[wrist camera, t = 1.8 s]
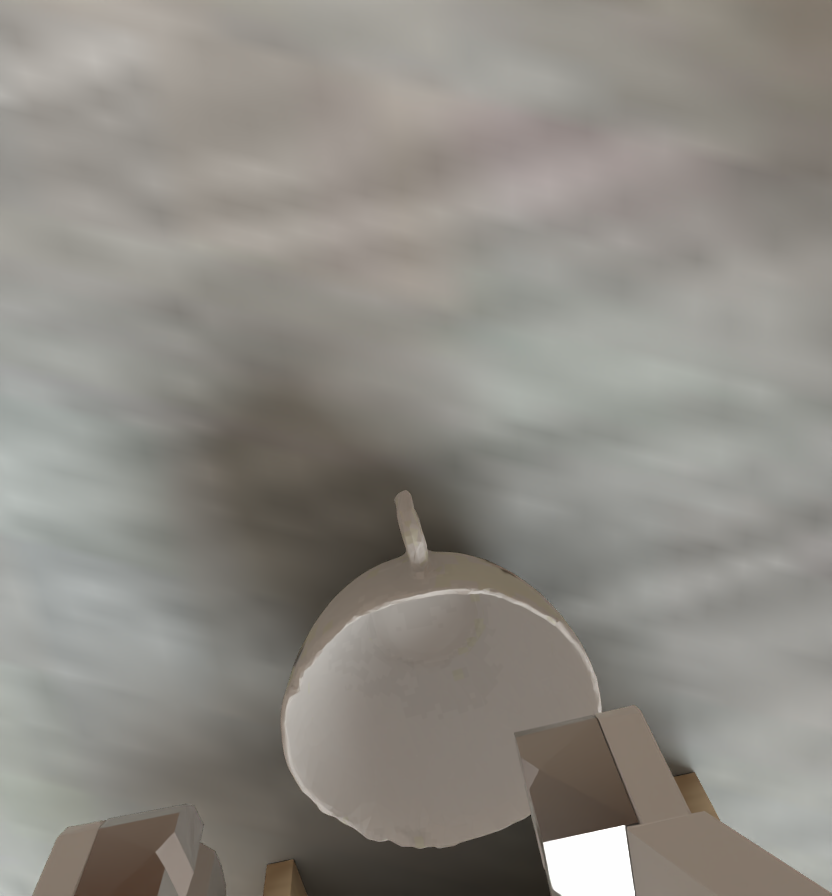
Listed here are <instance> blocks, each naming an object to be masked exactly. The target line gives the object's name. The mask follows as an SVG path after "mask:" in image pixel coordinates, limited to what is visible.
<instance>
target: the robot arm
mask: <svg viewBox="0 0 832 896" xmlns="http://www.w3.org/2000/svg"><path fill="white" fill-rule="evenodd" d="M514 737H515V742H516V747H517V752H518V757H519V762H520V766H521V770H522V774H523V778H524V782H525V784H524V786H525V790H526V795H527V799H528V804H529V808H530V813H531V818H532V822H533V827H534V831H535V835H536V839H537V843H538V847H539V851H540V855H541V860H542V864H543V868H544V869H545V871H546V876H547V881H548V885H549V890H550V894H551V896H832V893H831V892H829V891H827V890H826V889H824V888H823V887H821V886H820V885H818V884H817V883H815V882H814V881H812V880H810V879H809V878H807V877H806V876H804V875H803V874H801V873H800V872H798V871H797V870H795V869H793V868H792V867H790V866H789V865H787V864H786V863H784V862H783V861H781V860H780V859H778V858H776V857H775V856H773V855H772V854H770V853H769V852H767V851H766V850H764V849H763V848H761V847H759V846H758V845H756V844H755V843H753V842H752V841H750V840H749V839H747V838H746V837H744V836H742V835H741V834H739V833H738V832H736V831H735V830H733V829H732V828H730V827H729V826H727V825H725V824H724V823H722V822H721V821H719V820H718V819H716V818H715V817H713V816H712V815H710V814H708V813H707V812H705V811H702V812H697V813H691V812H690V810H689V808H688V806H687V804H686V802H685V800H684V797H683V795H682V793H681V791H680V789H679V787H678V785H677V783H676V781H675V779H674V777H673V775H672V773H671V771H670V769H669V767H668V765H667V763H666V761H665V759H664V757H663V755H662V753H661V751H660V749H659V747H658V745H657V743H656V741H655V739H654V737H653V734H652V732H651V730H650V728H649V726H648V724H647V722H646V720H645V718H644V716H643V714H642V712H641V710H640V709H639V708H637V707H636V706H635V705H632V706H627V707H623V708H619V709H614V710H610V711H606V712H601V713H597V714H595V715H594V716H593V715H590V716H585V717H581V718H576V719H572V720H567V721H563V722H559V723H554V724H550V725H545V726H541V727H536V728H532V729H528V730H523V731H519V732H514ZM203 826H204V824H203V822H202V820H201V818H200V816H199V814H198V812H197V810H196V808H195V806H194V805H189V804H183V805H178V806H172V807H167V808H162V809H156V810H151V811H146V812H141V813H135V814H130V815H125V816H120V817H114V818H109V819H107V820H104V821H99V822H93V823H88V824H82V825H77V826H71V827H67V828H66V829H65V830H64V831H63V832H62V833H61V834H60V835H59V836H58V838H57V839H56V841H55V844H54V846H53V848H52V851H51V853H50V855H49V858H48V860H47V862H46V865H45V867H44V869H43V872H42V874H41V876H40V879H39V881H38V883H37V886H36V888H35V890H34V893H33V895H32V896H226V884H225V880H224V875H223V871H222V866H221V864H220V861H219V859H218V857H217V854H216V852H215V851H214V850H212V849H211V848H209V847H207V846H206V845H204V844H202V843H200V840H201V836H202V831H203Z"/></svg>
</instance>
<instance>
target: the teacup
mask: <svg viewBox="0 0 832 896" xmlns="http://www.w3.org/2000/svg"><path fill="white" fill-rule="evenodd" d="M394 502H395V504H396V509H397V519H398V524H399V527H400V531H401V535H402V538H403V541H404V545H405V548H406V552H405V554H403V555H402V556H400V557H398V558H395V559H392V560H389V561H387V562H384V563H382V564H379V565H377V566H375V567H373V568H372V569H370V570H368V571H366V572H365V573H363V574H361V575H360V576H359V577H357V578H356V579H355V580H353V581H352V582H351V583H350V584H348V585H347V586H346V587H345V588H344V589H343V590H342V591H341V592H340V593H339V594H338V595H337V596H336V597H335V598H334V599H333V600H332V601H331V602H330V603H329V604H328V606H327V607H326V608H325V610H324V611H323V612H322V613H321V615H320V616H319V617H318V619H317V620H316V622H315V624H314V625H313V627H312V629H311V630H310V632H309V634H308V636H307V638H306V639H305V641H304V643H303V645H302V647H301V649H300V651H299V653H298V656H297V659H296V661H295V664H294V666H293V669H292V672H291V675H290V679H289V682H288V685H287V688H286V692H285V695H284V699H283V703H282V710H281V733H282V744H283V750H284V756H285V759H286V763H287V765H288V768H289V770H290V772H291V774H292V776H293V777H294V779H295V781H296V783H297V784H298V786H299V787H300V789H301V790H302V792H303V793H305V794H306V795H307V796H308V797H309V798H310V799H311V800H312V801H313V802H314V803H315V804H316V805H317V807H318V808H319V810H320V811H322V812H323V813H325V814H327V815H330V816H333V817H335V818H337V819H338V820H339V821H340V822H342V823H344V824H346V825H348V826H350V827H352V828H354V829H355V830H357V831H358V832H359V833H361V834H362V835H363V836H364V837H366V838H367V839H370V840H374V841H378V842H382V841H386V840H390V841H392V842H394V843H395V844H397V845H399V846H401V847H415V848H418V849H423V848H426V847H436V848H444V847H450V846H455V845H457V844H458V843H461V842H465V841H468V840H471V839H474V838H478V837H482V836H485V835H488V834H491V833H494V832H497V831H500V830H502V829H504V828H506V827H508V826H510V825H512V824H514V823H516V822H518V821H520V820H523V819H525V818H526V817H528V816H529V815H531V813H530V808H529V804H528V799H527V795H526V790H525V786H524V784H525V782H524V778H523V774H522V770H521V766H520V762H519V757H518V752H517V747H516V742H515V737H514V732H519V731H523V730H528V729H532V728H536V727H541V726H545V725H550V724H554V723H559V722H563V721H567V720H572V719H576V718H581V717H585V716H590V715H593V716H594V715H595V714H597V713H601V712H602V710H601V698H600V692H599V687H598V682H597V677H596V675H595V673H594V670H593V668H592V665H591V662H590V660H589V658H588V656H587V654H586V652H585V650H584V648H583V646H582V644H581V642H580V641H579V639H578V638H577V636H576V635H575V633H574V632H573V630H572V629H571V628H570V626H569V625H568V624H567V622H566V621H565V620H564V618H563V617H562V616H561V615H560V613H559V612H558V611H557V610H556V609H555V608H554V607H553V606H552V604H551V603H549V602H548V601H547V600H546V599H545V598H544V597H543V596H542V595H541V594H540V593H539V592H538V591H537V590H536V589H534V588H533V587H532V586H530V585H529V584H528V583H526V582H525V581H524V580H522V579H521V578H519V577H518V576H517V575H515V574H513V573H512V572H510V571H508V570H506V569H504V568H502V567H500V566H498V565H496V564H494V563H492V562H490V561H487V560H484V559H481V558H478V557H474V556H471V555H466V554H462V553H454V552H433V551H430V550H428V549H427V544H426V540H425V537H424V534H423V531H422V528H421V523H420V520H419V517H418V514H417V513H416V511H415V509H414V505H413V500H412V497H411V494H410V493H409V492H408V491H406V490H404V491H402V492H400V493H398V494H397V496H396V497H395V500H394Z"/></svg>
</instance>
